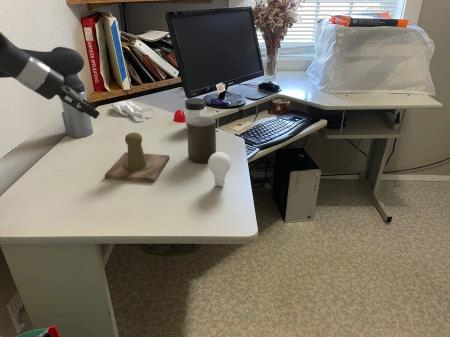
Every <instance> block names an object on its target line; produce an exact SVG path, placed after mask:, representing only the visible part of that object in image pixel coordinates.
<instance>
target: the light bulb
mask: <svg viewBox="0 0 450 337" xmlns="http://www.w3.org/2000/svg"><path fill="white" fill-rule="evenodd" d="M207 166H208V168H209V170H210V171H211V173H212V175H213V179H214V185H215V186H216V187H223V186H224V185H225V182H226V181H225V179H226V176H227V173H228V172H229V171H230V169H231V166H232V160H231V158H230V156H229V155H228V154H227V153H225V152H221V151H216V153H214V154H212V155H211V157H210V158H209V161H208V163H207Z"/></svg>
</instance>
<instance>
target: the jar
mask: <svg viewBox="0 0 450 337" xmlns="http://www.w3.org/2000/svg"><path fill="white" fill-rule="evenodd" d="M199 116H200V117H201V116H203V117H207V107H206V100H205V99H203V98H199V97H198V98H197V97H196V98H195V97H193V98H188V99H186V100H185V101H184V122H185V123H184V124H185V125H184V126H185V130H187V120H188V119H190V118H193V117H199Z"/></svg>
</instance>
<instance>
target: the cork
mask: <svg viewBox="0 0 450 337" xmlns="http://www.w3.org/2000/svg"><path fill="white" fill-rule="evenodd" d="M124 141H125V145H127V152H128V168H129V169H131V170H140V169H143V168H145V167H146V166H147V163H146V160H145V156H144V154H145V153H144V149H143V146H142V143H143V137H142V134H140V133H138V132H129V133H127V134H126V135H125V137H124Z"/></svg>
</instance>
